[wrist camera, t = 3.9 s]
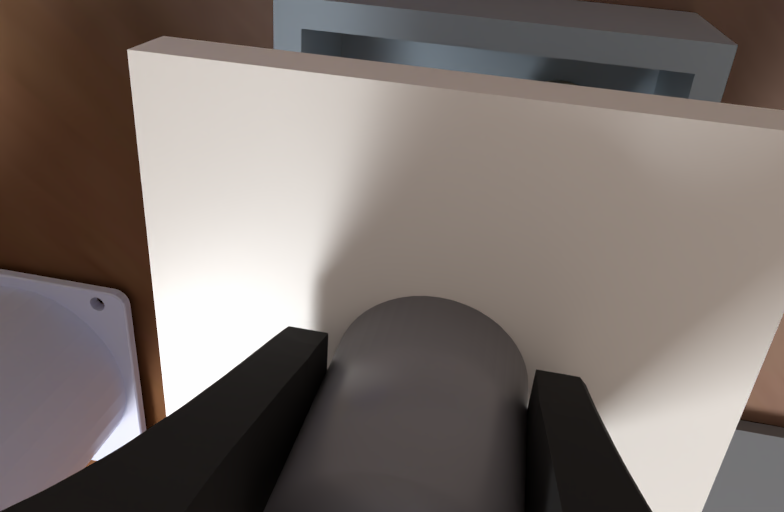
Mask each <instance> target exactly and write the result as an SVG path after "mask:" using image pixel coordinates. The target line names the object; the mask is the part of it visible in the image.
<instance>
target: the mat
mask: <svg viewBox="0 0 784 512" xmlns="http://www.w3.org/2000/svg"><path fill="white" fill-rule="evenodd" d="M702 512H784V428H782V427H777V426H771V425H765V424H760V423H754V422H749V421H743V420H739V422H738V425H737V427H736V430H735V432H734V435H733V437H732V439H731V442H730V444H729V447H728V449H727V452H726V454H725V456H724V459H723V461H722V464H721V466H720V468H719V471H718V473H717V476H716V478H715V481H714V483H713V485H712V488H711V490H710V493H709V495H708V498H707V500H706V502H705V505H704V507H703V510H702Z"/></svg>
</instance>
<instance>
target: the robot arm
mask: <svg viewBox="0 0 784 512" xmlns="http://www.w3.org/2000/svg"><path fill="white" fill-rule="evenodd" d="M97 298H99V299H101V300H102V301H103V303H104V304H102V303H100V302H99V301H98V299H97ZM327 356H328V333H326V332H320V331H314V330H308V329H303V328H297V327H291V326H288V327H287V328H285V329H284V330H282V331H281V332H280V333H278V334H277V335H276V336H274V337H273V338H272V339H270V340H269V341H268V342H267V343H265V344H264V345H263V346H261V347H260V348H259V349H258V350H256V351H255V352H254V353H253V354H251V355H250V356H249V357H247V358H246V359H245V360H244V361H242V362H241V363H240V364H238V365H237V366H236V367H235V368H233V369H232V370H231V371H229V372H228V373H227V374H225V375H224V376H223V377H221V378H220V379H219V380H217V381H216V382H215V383H213V384H212V385H211V386H209V387H208V388H206V389H205V390H204V391H202V392H201V393H200V394H198V395H197V396H196V397H194V398H193V399H192V400H190V401H189V402H187V403H186V404H185V405H183V406H182V407H180V408H179V409H178V410H176V411H175V412H173V413H172V414H170V415H169V416H167V417H166V418H164V419H163V420H161V421H160V422H158V423H157V424H155V425H154V426H152V427H151V428H149V429H148V430H146V423H145V415H144V407H143V399H142V392H141V384H140V376H139V368H138V360H137V353H136V345H135V337H134V329H133V321H132V313H131V306H130V301H129V299H128V297H127V296H126V295H125V294H124V293H123V292H121V291H120V290H117V289H113V288H108V287H102V286H96V285H90V284H85V283H79V282H73V281H67V280H62V279H56V278H50V277H45V276H39V275H33V274H27V273H22V272H16V271H10V270H4V269H0V512H263V511H264V509H265V507H266V505H267V502H268V500H269V498H270V496H271V494H272V491H273V489H274V487H275V485H276V482H277V480H278V478H279V476H280V474H281V471H282V469H283V467H284V465H285V463H286V460H287V458H288V456H289V454H290V451H291V449H292V447H293V445H294V443H295V440H296V438H297V436H298V434H299V431H300V429H301V427H302V425H303V423H304V420H305V418H306V416H307V414H308V412H309V409H310V407H311V405H312V403H313V400H314V398H315V396H316V394H317V392H318V389H319V387H320V385H321V383H322V380H323V378H324V376H325V374H326V372H327ZM90 460H96V462H95V463H93V464H91V465H89V466H88V467H86V465H87V464H88V463H89V462H90ZM85 467H86V468H85ZM525 512H652V510H651V509H650V507H649V505H648V504H647V502H646V500H645V498H644V497H643V495H642V493H641V492H640V490H639V488H638V486H637V485H636V483H635V481H634V479H633V478H632V476H631V474H630V472H629V471H628V469H627V467H626V465H625V464H624V462H623V460H622V458H621V456H620V454H619V452H618V451H617V449H616V447H615V445H614V443H613V441H612V439H611V437H610V435H609V433H608V431H607V429H606V427H605V425H604V423H603V421H602V419H601V417H600V415H599V413H598V411H597V409H596V406H595V404H594V402H593V400H592V398H591V395H590V393H589V391H588V388H587V386H586V384H585V383H584V382H583V380H582V379H581V378H580V377H577V376H571V375H566V374H560V373H554V372H549V371H543V370H537V369H536V372H535V376H534V381H533V385H532V390H531V395H530V399H529V404H528V408H527V434H526V482H525Z"/></svg>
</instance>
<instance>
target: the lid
mask: <svg viewBox="0 0 784 512" xmlns="http://www.w3.org/2000/svg"><path fill="white" fill-rule="evenodd" d="M127 54H128V63H129V72H130V82H131V91H132V100H133V110H134V119H135V128H136V137H137V147H138V156H139V165H140V175H141V184H142V193H143V202H144V212H145V221H146V230H147V240H148V249H149V258H150V267H151V277H152V286H153V295H154V305H155V314H156V323H157V332H158V342H159V351H160V360H161V370H162V379H163V388H164V397H165V407H166V416H169V415H170V414H172V413H173V412H175V411H176V410H178V409H179V408H180V407H182V406H183V405H185V404H186V403H187V402H189V401H190V400H192V399H193V398H194V397H196V396H197V395H198V394H200V393H201V392H202V391H204V390H205V389H206V388H208V387H209V386H211V385H212V384H213V383H215V382H216V381H217V380H219V379H220V378H221V377H223V376H224V375H225V374H227V373H228V372H229V371H231V370H232V369H233V368H235V367H236V366H237V365H238V364H240V363H241V362H242V361H244V360H245V359H246V358H247V357H249V356H250V355H251V354H253V353H254V352H255V351H256V350H258V349H259V348H260V347H261V346H263V345H264V344H265V343H267V342H268V341H269V340H270V339H272V338H273V337H274V336H276V335H277V334H278V333H280V332H281V331H282V330H284V329H285V328H287V327H288V326H291V327H297V328H303V329H308V330H314V331H320V332H326V333H328V356H327V372H326V374H325V376H324V378H323V380H322V383H321V385H320V387H319V389H318V392H317V394H316V396H315V398H314V400H313V403H312V405H311V407H310V409H309V412H308V414H307V416H306V418H305V420H304V423H303V425H302V427H301V429H300V431H299V434H298V436H297V438H296V440H295V443H294V445H293V447H292V449H291V451H290V454H289V456H288V458H287V460H286V463H285V465H284V467H283V469H282V471H281V474H280V476H279V478H278V480H277V482H276V485H275V487H274V489H273V491H272V494H271V496H270V498H269V500H268V502H267V505H266V507H265V509H264V511H263V512H525V482H526V434H527V408H528V404H529V399H530V395H531V390H532V385H533V381H534V376H535V372H536V369H537V370H543V371H549V372H554V373H560V374H566V375H571V376H577V377H580V378H581V379H582V380H583V382H584V383H585V384H586V386H587V388H588V391H589V393H590V395H591V398H592V400H593V402H594V404H595V406H596V409H597V411H598V413H599V415H600V417H601V419H602V421H603V423H604V425H605V427H606V429H607V431H608V433H609V435H610V437H611V439H612V441H613V443H614V445H615V447H616V449H617V451H618V452H619V454H620V456H621V458H622V460H623V462H624V464H625V465H626V467H627V469H628V471H629V472H630V474H631V476H632V478H633V479H634V481H635V483H636V485H637V486H638V488H639V490H640V492H641V493H642V495H643V497H644V498H645V500H646V502H647V504H648V505H649V507H650V509H651V510H652V512H702V510H703V507H704V505H705V502H706V500H707V498H708V495H709V493H710V490H711V488H712V485H713V483H714V481H715V478H716V476H717V473H718V471H719V468H720V466H721V464H722V461H723V459H724V456H725V454H726V452H727V449H728V447H729V444H730V442H731V439H732V437H733V435H734V432H735V430H736V427H737V425H738V422H739V420H740V418H741V415H742V413H743V410H744V408H745V405H746V403H747V401H748V398H749V396H750V393H751V391H752V388H753V386H754V384H755V381H756V379H757V376H758V374H759V371H760V369H761V367H762V364H763V362H764V359H765V357H766V354H767V352H768V350H769V347H770V345H771V342H772V340H773V337H774V335H775V333H776V330H777V328H778V325H779V323H780V320H781V318H782V316H783V313H784V110H778V109H769V108H761V107H753V106H744V105H736V104H728V103H719V102H711V101H702V100H694V99H686V98H677V97H669V96H661V95H652V94H644V93H636V92H627V91H619V90H611V89H602V88H594V87H586V86H577V85H569V84H561V83H552V82H544V81H536V80H527V79H519V78H510V77H502V76H494V75H485V74H477V73H469V72H460V71H452V70H444V69H435V68H427V67H419V66H410V65H402V64H394V63H385V62H377V61H369V60H360V59H352V58H344V57H335V56H327V55H318V54H310V53H302V52H293V51H285V50H277V49H268V48H260V47H252V46H243V45H235V44H227V43H218V42H210V41H202V40H193V39H185V38H177V37H168V36H162V37H159V38H156V39H154V40H151V41H148V42H146V43H143V44H140V45H138V46H135V47H132V48H130V49H127Z"/></svg>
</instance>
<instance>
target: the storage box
mask: <svg viewBox="0 0 784 512" xmlns="http://www.w3.org/2000/svg"><path fill="white" fill-rule="evenodd" d="M273 26H274V49H277V50H285V51H293V52H302V53H310V54H318V55H327V56H335V57H344V58H352V59H360V60H369V61H377V62H385V63H394V64H402V65H410V66H419V67H427V68H435V69H444V70H452V71H460V72H469V73H477V74H485V75H494V76H502V77H510V78H519V79H527V80H536V81H544V82H552V83H561V84H569V85H577V86H586V87H594V88H602V89H611V90H619V91H627V92H636V93H644V94H652V95H661V96H669V97H677V98H686V99H694V100H702V101H711V102H719V103H720V102H721V99H722V96H723V93H724V89H725V86H726V83H727V80H728V76H729V73H730V70H731V67H732V63H733V60H734V57H735V54H736V50H737V47H738V45H737V44H736V43H734V42H733V41H732V40H730V39H729V38H728V37H727V36H725V35H724V34H723V33H721V32H720V31H719V30H718V29H716V28H715V27H714V26H713V25H711V24H710V23H709V22H707V21H706V20H705V19H704V18H702V17H701V16H700V15H698V14H697V13H694V12H684V11H674V10H665V9H655V8H645V7H636V6H626V5H617V4H607V3H597V2H588V1H578V0H273Z"/></svg>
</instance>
